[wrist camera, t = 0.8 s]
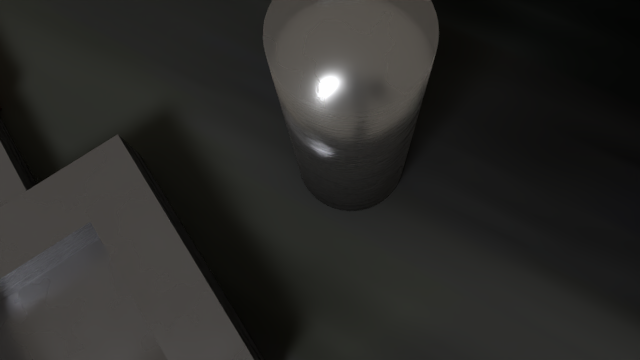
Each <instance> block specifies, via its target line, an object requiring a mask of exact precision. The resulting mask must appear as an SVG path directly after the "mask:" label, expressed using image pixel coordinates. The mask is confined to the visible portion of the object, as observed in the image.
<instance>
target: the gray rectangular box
mask: <svg viewBox="0 0 640 360" xmlns="http://www.w3.org/2000/svg"><path fill="white" fill-rule="evenodd" d="M1 109H2V108H1V106H0V110H1ZM0 360H265V359H264V358H263V356H262V354H261V353H260V351H259V350H258V348H257V346H256V345H255V343H254V341H253V340H252V338H251V336H250V335H249V333H248V332H247V330H246V328H245V327H244V325H243V323H242V322H241V320H240V318H239V317H238V315H237V314H236V312H235V310H234V309H233V307H232V305H231V304H230V302H229V300H228V299H227V297H226V296H225V294H224V292H223V291H222V289H221V287H220V286H219V284H218V282H217V281H216V279H215V278H214V276H213V274H212V273H211V271H210V269H209V268H208V266H207V264H206V263H205V261H204V260H203V258H202V256H201V255H200V253H199V251H198V250H197V248H196V246H195V245H194V243H193V241H192V240H191V238H190V237H189V235H188V233H187V232H186V230H185V228H184V227H183V225H182V223H181V222H180V220H179V219H178V217H177V215H176V214H175V212H174V210H173V209H172V207H171V205H170V204H169V202H168V201H167V199H166V197H165V196H164V194H163V192H162V191H161V189H160V187H159V186H158V184H157V183H156V181H155V179H154V178H153V176H152V174H151V173H150V171H149V169H148V168H147V166H146V165H145V163H144V161H143V160H142V158H141V156H140V155H139V153H138V152H136V151H135V150H134V149H133V148H132V147H131V146H130V145H129V144H128V143H127V142H126V141H124V140H123V139H122V138H121V137H120V136H119V135H116V136H114V137H113V138H111V139H109V140H108V141H106V142H105V143H103V144H101V145H100V146H98V147H97V148H95V149H93V150H92V151H90V152H88V153H87V154H85V155H84V156H82V157H80V158H79V159H77V160H76V161H74V162H72V163H71V164H69V165H67V166H66V167H64V168H63V169H61V170H59V171H58V172H56V173H55V174H53V175H51V176H50V177H48V178H46V179H45V180H43V181H42V182H40V183H38V184H37V185H36V183H35V181H34V179H33V177H32V175H31V173H30V172H29V170H28V168H27V166H26V164H25V162H24V160H23V159H22V157H21V155H20V153H19V151H18V149H17V147H16V146H15V144H14V142H13V140H12V138H11V136H10V134H9V133H8V131H7V129H6V127H5V125H4V123H3V121H2V119H1V118H0Z"/></svg>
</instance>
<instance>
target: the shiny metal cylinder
mask: <svg viewBox="0 0 640 360" xmlns="http://www.w3.org/2000/svg"><path fill="white" fill-rule="evenodd" d="M438 40H439V26H438V19H437V15H436V11H435V9H434V6H433V4H432V2H431V0H272V2H271V4H270V6H269V8H268V11H267V14H266V17H265V21H264V27H263V44H264V50H265V54H266V57H267V61H268V64H269V68H270V71H271V74H272V78H273V81H274V85H275V88H276V91H277V95H278V98H279V102H280V105H281V108H282V112H283V115H284V119H285V122H286V126H287V129H288V132H289V136H290V139H291V143H292V146H293V149H294V153H295V156H296V160H297V163H298V166H299V170H300V173H301V177H302V179H303V181H304V184H305V185H306V187H307V189H308V190H309V191H310V192H311V194H312V195H313V196H314V197H315V198H317V199H318V200H319V201H321V202H322V203H324V204H326V205H327V206H330V207H332V208H335V209H339V210H345V211H357V210H363V209H367V208H370V207H372V206H375V205H377V204H378V203H380V202H382V201H383V200H384V199H386V198H387V197H388V196H389V195H390V194H391V193H392V192H393V190H394V189H395V188H396V186H397V184H398V182H399V180H400V177H401V175H402V171H403V168H404V164H405V161H406V157H407V153H408V150H409V146H410V143H411V139H412V136H413V132H414V129H415V125H416V122H417V118H418V115H419V111H420V108H421V104H422V100H423V97H424V93H425V90H426V86H427V83H428V79H429V76H430V72H431V69H432V65H433V62H434V58H435V55H436V51H437V46H438Z"/></svg>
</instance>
